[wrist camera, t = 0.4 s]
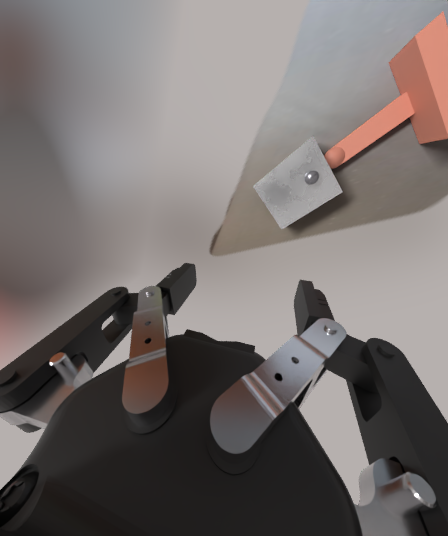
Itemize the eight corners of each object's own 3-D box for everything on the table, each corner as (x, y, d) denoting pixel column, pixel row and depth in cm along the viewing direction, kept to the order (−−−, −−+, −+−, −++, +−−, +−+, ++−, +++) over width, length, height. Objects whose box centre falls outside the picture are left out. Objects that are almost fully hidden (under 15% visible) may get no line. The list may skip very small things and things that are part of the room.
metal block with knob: (308, 140, 27) (314, 134, 22) (335, 189, 29) (344, 192, 24) (256, 184, 32) (252, 186, 27) (281, 223, 34) (281, 231, 29)
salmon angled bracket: (409, 44, 20) (443, 11, 16) (439, 131, 22) (475, 122, 18) (306, 133, 26) (310, 126, 22) (338, 193, 29) (347, 197, 25)
